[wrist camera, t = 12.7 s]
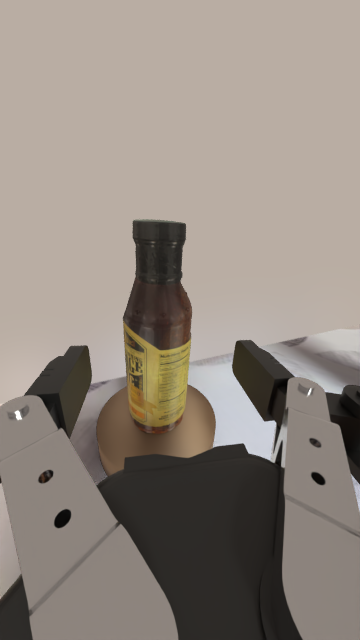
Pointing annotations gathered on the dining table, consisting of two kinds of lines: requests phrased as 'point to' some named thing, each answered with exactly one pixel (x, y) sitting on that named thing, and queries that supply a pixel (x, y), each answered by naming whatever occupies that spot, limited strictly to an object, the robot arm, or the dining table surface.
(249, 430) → the dining table surface
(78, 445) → the dining table surface
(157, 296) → the sauce bottle
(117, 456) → the tan flat disc
